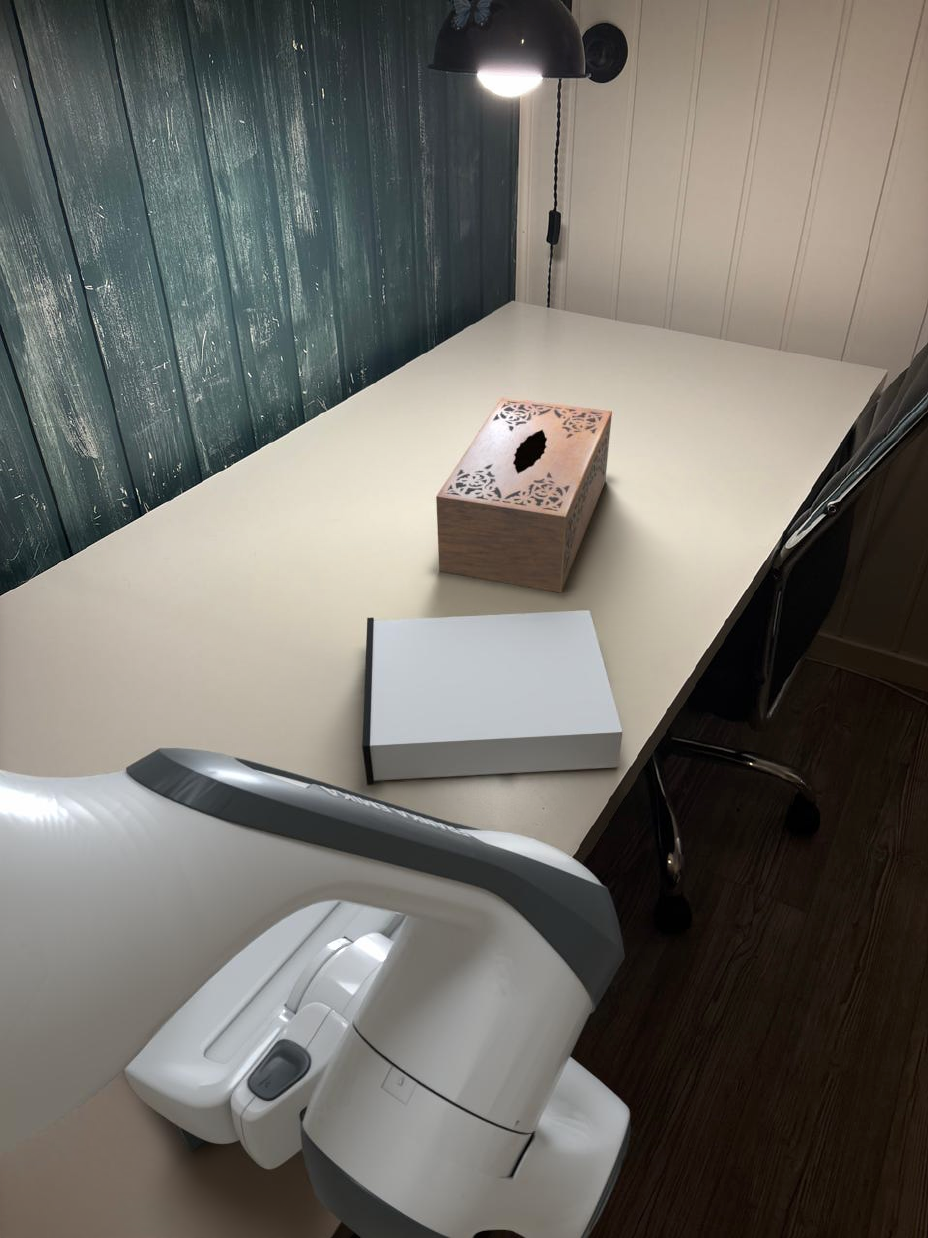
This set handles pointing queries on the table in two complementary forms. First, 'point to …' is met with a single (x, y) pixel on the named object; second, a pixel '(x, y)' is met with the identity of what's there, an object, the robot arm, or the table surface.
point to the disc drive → (486, 696)
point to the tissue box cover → (524, 494)
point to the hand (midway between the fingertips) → (196, 902)
